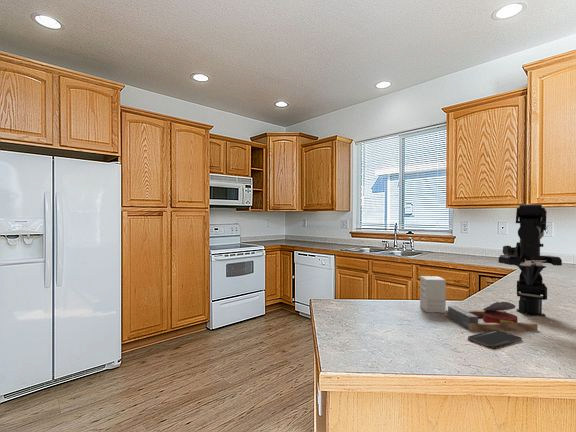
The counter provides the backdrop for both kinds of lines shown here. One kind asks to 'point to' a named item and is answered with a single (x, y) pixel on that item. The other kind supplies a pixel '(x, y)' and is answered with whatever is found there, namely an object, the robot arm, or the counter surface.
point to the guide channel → (497, 324)
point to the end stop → (461, 316)
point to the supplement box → (433, 294)
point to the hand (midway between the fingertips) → (529, 284)
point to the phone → (494, 339)
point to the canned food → (499, 313)
